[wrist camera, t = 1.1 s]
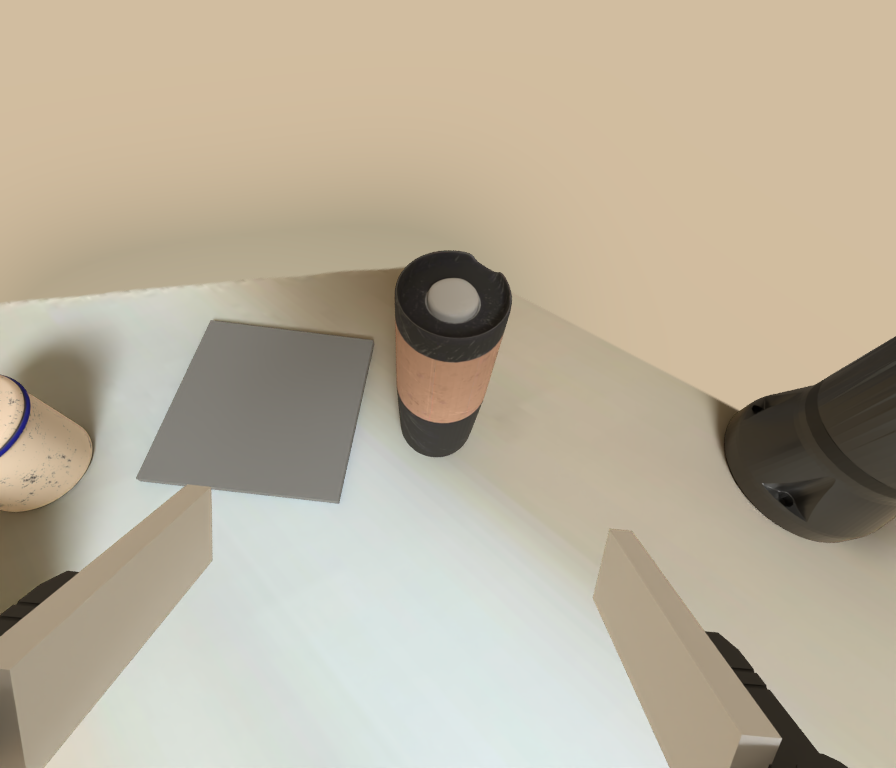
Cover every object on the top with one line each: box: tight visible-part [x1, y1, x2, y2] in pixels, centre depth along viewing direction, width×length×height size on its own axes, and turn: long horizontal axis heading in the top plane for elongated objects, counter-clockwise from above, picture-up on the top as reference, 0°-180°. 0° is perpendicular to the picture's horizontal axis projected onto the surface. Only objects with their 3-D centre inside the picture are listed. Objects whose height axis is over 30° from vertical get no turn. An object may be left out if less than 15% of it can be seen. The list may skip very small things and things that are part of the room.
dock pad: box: [136, 320, 374, 504], centre depth 44 cm, size 18×18×1 cm
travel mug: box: [395, 251, 512, 457], centre depth 36 cm, size 8×8×20 cm
